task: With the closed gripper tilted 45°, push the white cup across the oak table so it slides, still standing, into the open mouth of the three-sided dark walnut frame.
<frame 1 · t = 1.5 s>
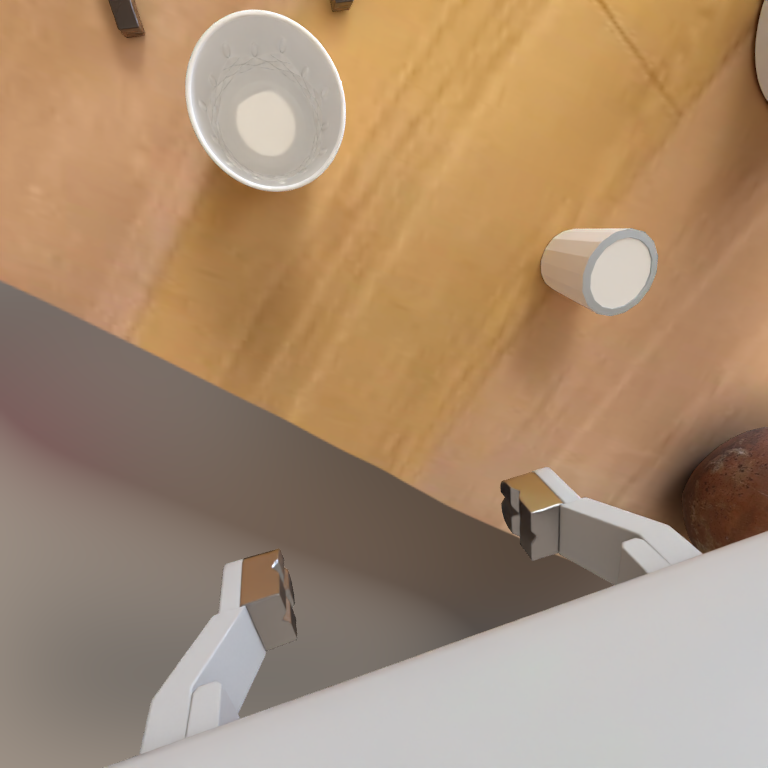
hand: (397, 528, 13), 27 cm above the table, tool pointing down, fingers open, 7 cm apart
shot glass: (566, 260, 41), on the table
pottery: (721, 467, 59), on the table
white cup: (267, 129, 31), on the table
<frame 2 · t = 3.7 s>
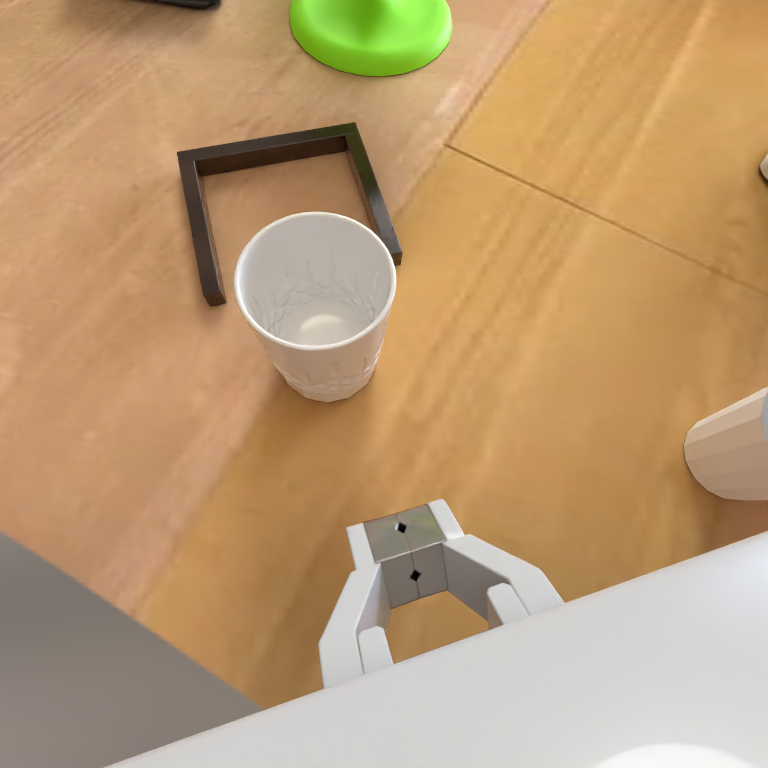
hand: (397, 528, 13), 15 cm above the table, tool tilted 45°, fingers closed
wineglass: (371, 21, 44), on the table
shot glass: (722, 458, 30), on the table
walnut frame: (290, 221, 35), on the table
white cup: (328, 358, 31), on the table
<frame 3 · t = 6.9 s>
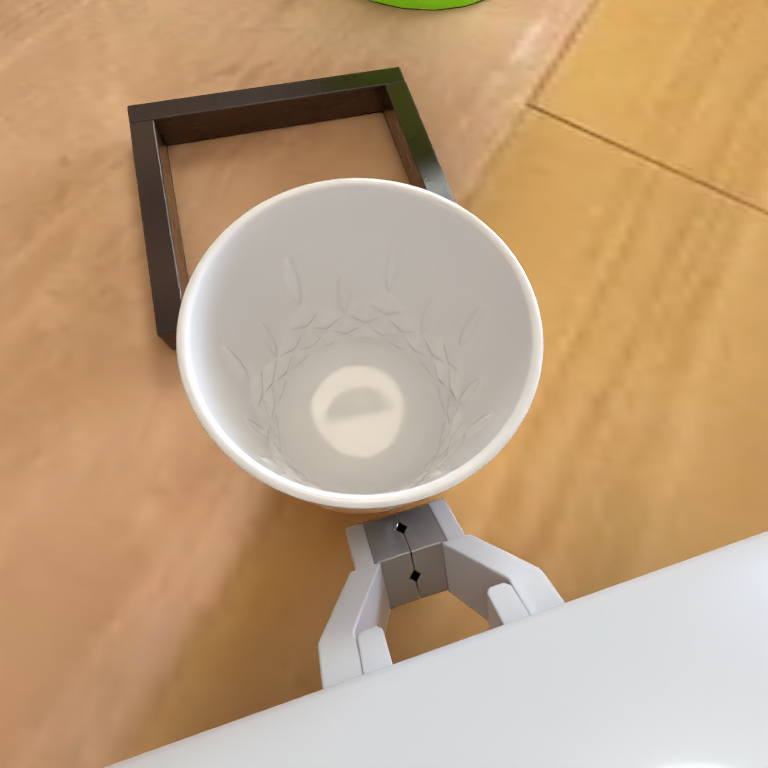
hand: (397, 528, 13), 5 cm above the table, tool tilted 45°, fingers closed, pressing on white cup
walnut frame: (302, 214, 23), on the table
white cup: (360, 431, 19), on the table, touching gripper
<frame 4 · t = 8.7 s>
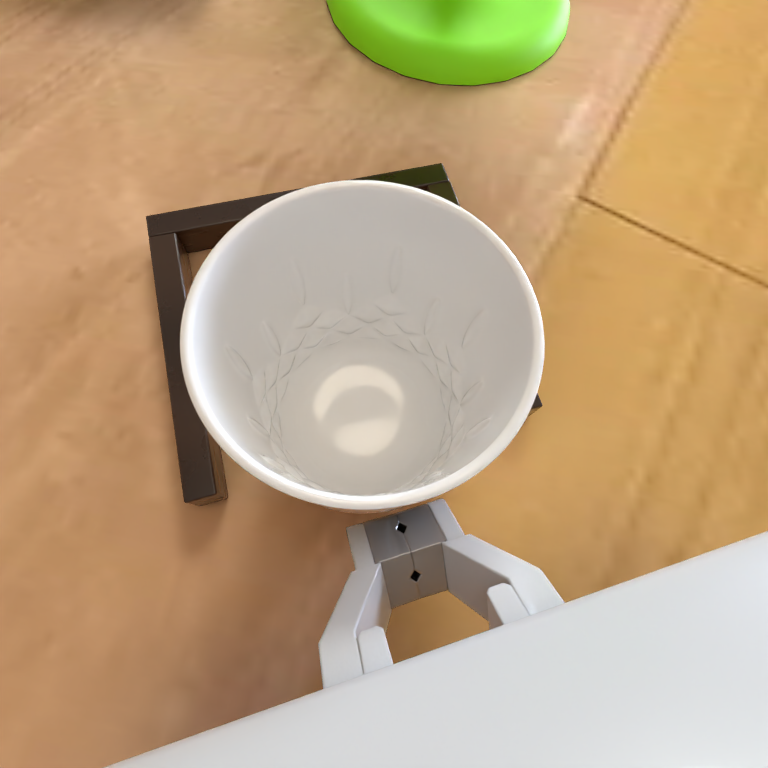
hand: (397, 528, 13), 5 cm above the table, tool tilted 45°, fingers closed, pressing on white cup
wineglass: (448, 1, 29), on the table
walnut frame: (338, 334, 20), on the table
white cup: (362, 431, 19), on the table, touching gripper
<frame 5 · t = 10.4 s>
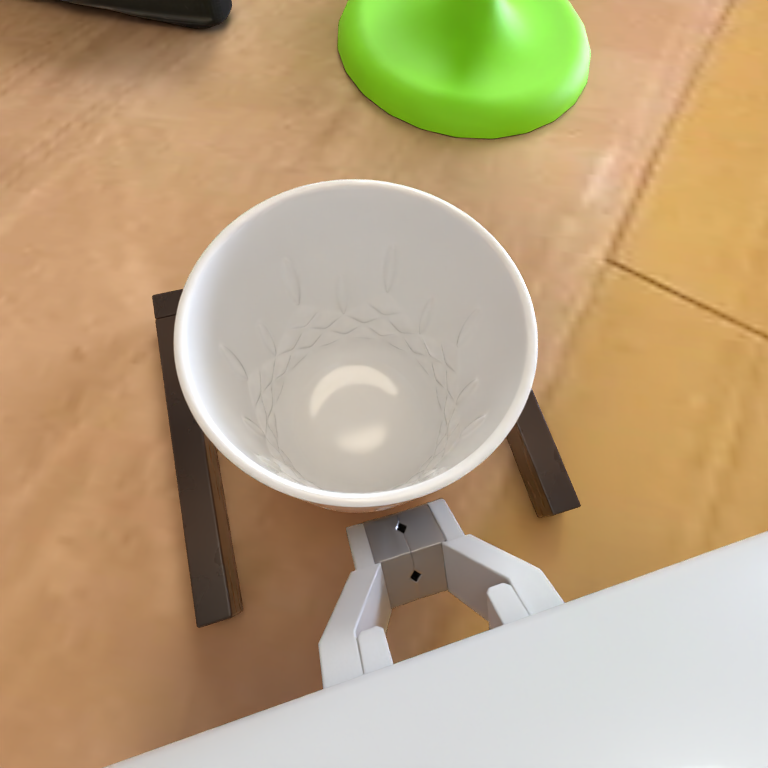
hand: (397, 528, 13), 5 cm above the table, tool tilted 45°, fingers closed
mobile phone: (113, 7, 27), on the table
wineglass: (463, 46, 28), on the table
walnut frame: (358, 418, 19), on the table
white cup: (358, 431, 19), on the table
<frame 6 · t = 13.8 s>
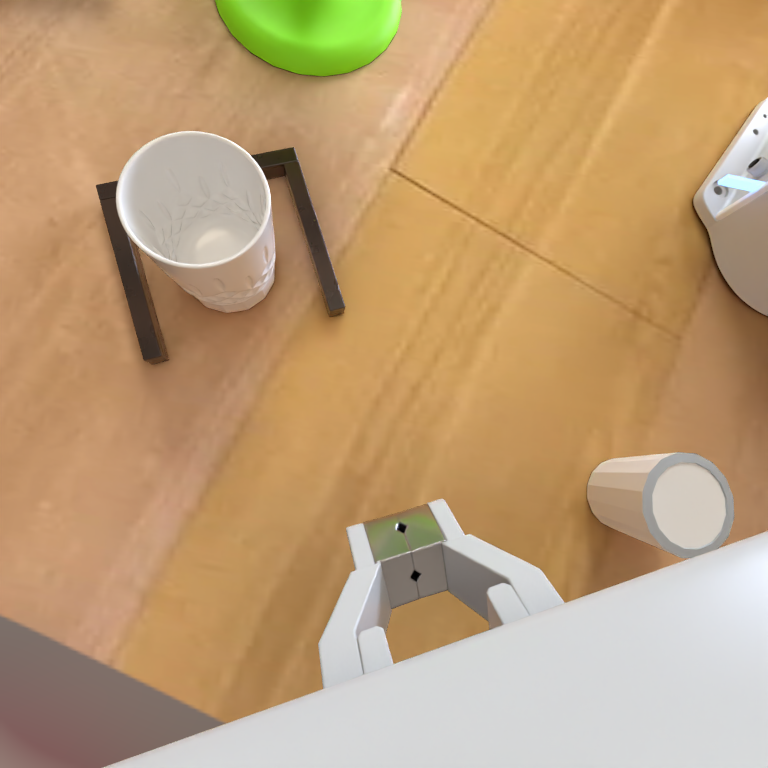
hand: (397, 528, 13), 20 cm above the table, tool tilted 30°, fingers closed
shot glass: (617, 493, 36), on the table
walnut frame: (229, 263, 34), on the table
white cup: (230, 271, 34), on the table
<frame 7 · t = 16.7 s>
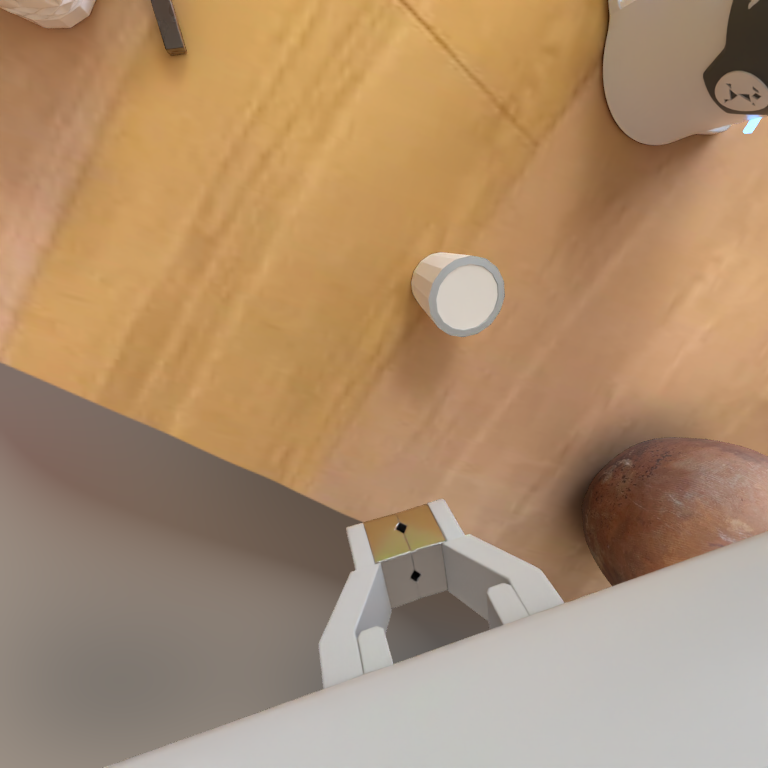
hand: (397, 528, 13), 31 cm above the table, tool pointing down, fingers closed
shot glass: (437, 281, 43), on the table
pottery: (625, 476, 61), on the table
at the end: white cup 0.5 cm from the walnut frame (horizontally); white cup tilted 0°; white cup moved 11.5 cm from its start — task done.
